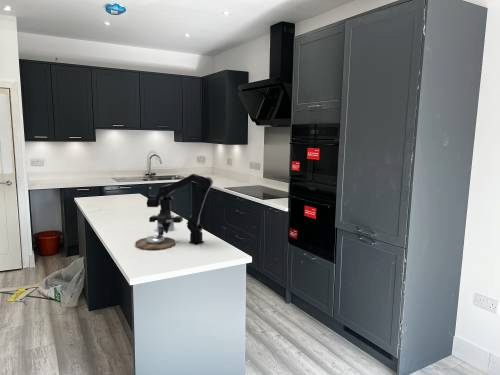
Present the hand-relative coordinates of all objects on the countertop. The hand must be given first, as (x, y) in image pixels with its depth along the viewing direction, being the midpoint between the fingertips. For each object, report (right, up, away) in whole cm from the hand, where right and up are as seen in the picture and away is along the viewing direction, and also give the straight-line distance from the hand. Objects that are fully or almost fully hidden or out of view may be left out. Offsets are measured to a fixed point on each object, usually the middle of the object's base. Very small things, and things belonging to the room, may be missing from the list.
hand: (166, 233), depth 223 cm
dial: (-4, -3, -5) cm, 7 cm away
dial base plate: (-5, -6, -7) cm, 10 cm away
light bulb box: (-6, -1, +26) cm, 27 cm away
